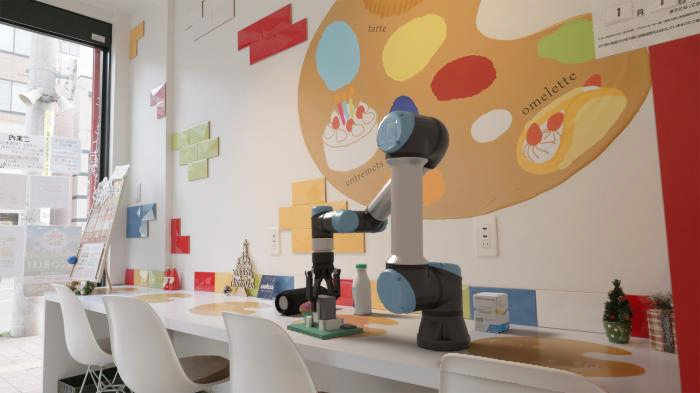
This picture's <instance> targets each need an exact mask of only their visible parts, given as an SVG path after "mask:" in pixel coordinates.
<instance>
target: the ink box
mask: <svg viewBox="0 0 700 393" xmlns="http://www.w3.org/2000/svg"><path fill="white" fill-rule="evenodd" d="M508 296H509V295H508V293H505V292H487V291H483V292H477V293H476V294H475V293H474V294H472V301H473V303H472V304H473V318H474V321H473V322H474V331H476V330H481V331H480V332H484V331H490V332H489V333H492V332H498V333H497V334H500V333H499V332H501V333H503V332H502V331H504V332H505V330H506V331H508V330H507V329H509V328H511V327H510V325H511V324H510V314H509V312H510V310H509V298H508ZM509 330H510V329H509Z"/></svg>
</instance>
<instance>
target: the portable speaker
mask: <svg viewBox="0 0 700 393" xmlns="http://www.w3.org/2000/svg"><path fill="white" fill-rule="evenodd" d="M319 295H327V296H329V293H328V289H327V287H324V286H323V285H321V286H320V291H319ZM306 302H309V301H308V300H306V286H304V287H299V288H293V289H287V290H286V289H285V290H281V291H280V292H279V293H277V295H276V296H275V299H274V306H275V309H276V311H277V312H278V314H281V315H284V316H291V315H295V314H300V313H301V314H302V312H300V306H301V305H302V304H304V303H306Z"/></svg>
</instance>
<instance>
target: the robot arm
mask: <svg viewBox="0 0 700 393" xmlns="http://www.w3.org/2000/svg"><path fill="white" fill-rule="evenodd" d="M376 145H377V147H379V150H380V151H381V152H383V153H384V156H385V157H384V159H385V160H384V162H385V163H386V164H387V165H388V166H389V168H390V178H389V180H388V181H387V182H386V183H385V184H384V186H383V187H382V188H381V189H380V190H379V192H378V193H377V194H376V196H375V197H374V198H373V200H372V201H371V202H370V203H369V205H367V207H366V208H365V209H364V210H352V209H345V208H344V209H343V208H342V209H339V210H334V208H333V206H332V205H314V206H313V207H312V208H311V217H310V221H311V222H310V224H311V250H312V251H313V252H312V253H311V263H312V266H311V268H310V269H309V270H308V269H307V270H305V271H304V277H305V287H306V300H308V301H310V302H311V311H312V312H313V322H317V323H319V320H320V304H319V302H317V300H318V295H319V291H320V286H322V282H323V280H324V281H325V285H326V288H327V289H328V293H329V296H333V297H336V301H338V299H340V298H341V296H342V295H341V293H342V292H341V272H342V269H341V268H337V267H335V265H334V262H335V252H334V250H335V242H334V241H335V240H334V238H335V236H334V235H335V234H376V233H382V232H384V231H385V230H386V229H387V226H388V225H389V222H388V220H389V219H388V218H389V216H390V236H391V237H390V256H389V257H388V258H387V259H386V260H385V269H384V270H383V271H381V272H380V273H379V276H377V280H376V293H377V296H378V299H379V301H380V303H381V304H382V305H383V307H384V308H385V309H386V310H388V311H389V312H390V313H391V314H392V313H393V314H396V315H400V314H405V315H406V314H407V315H409V314H412V313H416V312H421V319H420V321H419V322H420V323H419V326H418V327H419V328H418V332H417V333H416V345H417V346H418V347H420V348H423V349H427V350H432V351H433V350H434V351H460V350H466V349H469V348H470V347H471V346H472V342H471V341H472V339H471V335H470V333H469V330H468V327H467V324H466V321H465V318H464V303H463V302H464V301H463V297H464V296H463V276H462V268H461V266H460V265H459V264H457V263H449V262H441V261H440V262H438V261H428V259H427V258H426V257H425V256H424V221H423V220H424V216H423V215H424V213H423V212H424V210H423V208H424V207H423V206H424V205H423V204H424V201H423V199H424V198H423V193H424V192H423V188H424V187H423V177H424V176H425V175H426V174H427V173H428V171H429V170H430V171H433V170H434V169H436V167H438V165H439V164H440V163H441V162H442V160H443V159H444V158H445V155H446V154H447V151H448V150H449V146H450V132H449V130H448V127H447V126H446V125H445V123H444V122H443V121H441V120H440V119H439V118H436V117H434V116H427V115H423V114H419V113H414V112H412V111H408V110H406V111H405V110H393V111H391V112H389V113H387V115H385V116H384V117H383V119H382V121H380V123H379V125H378V127H377V132H376Z"/></svg>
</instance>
